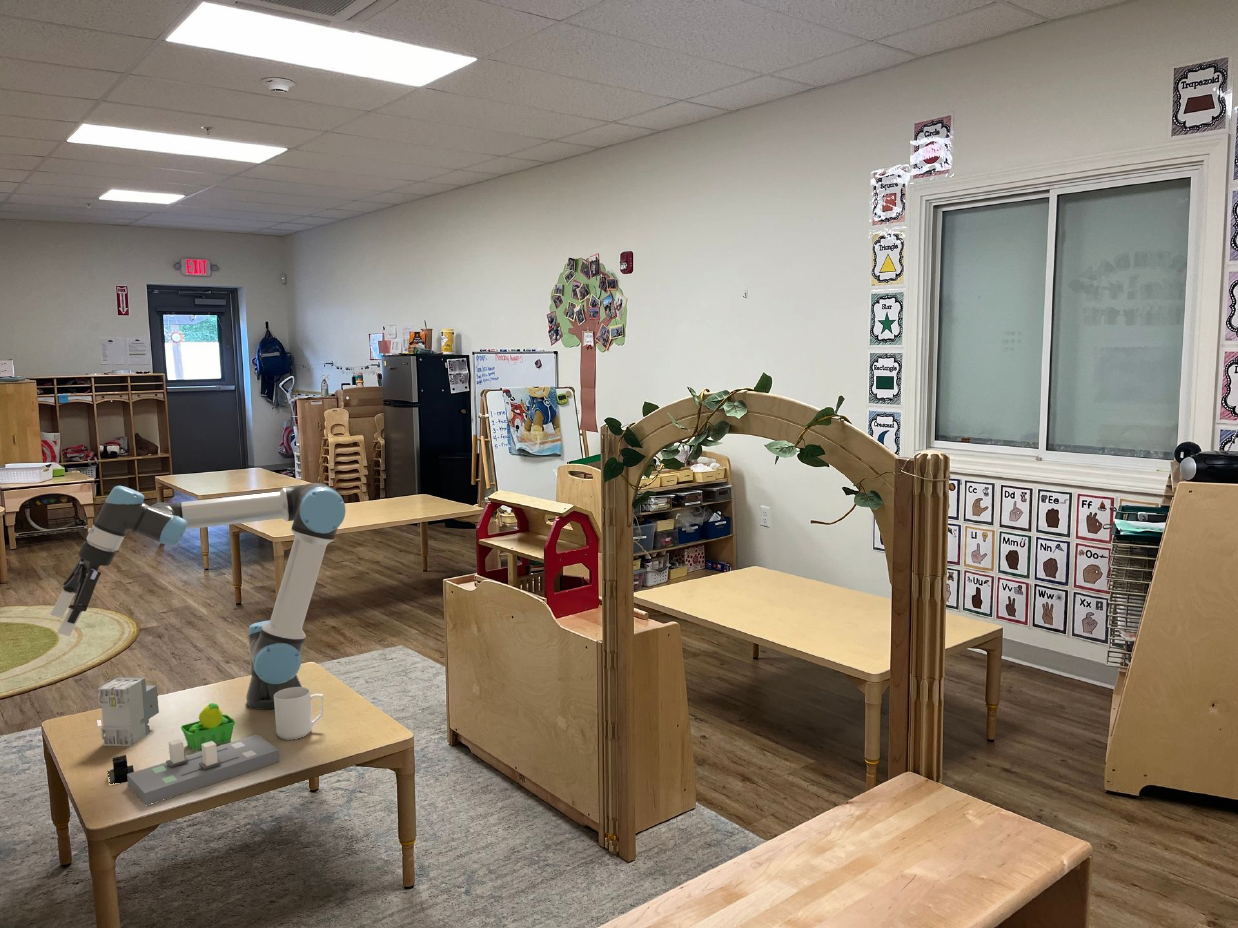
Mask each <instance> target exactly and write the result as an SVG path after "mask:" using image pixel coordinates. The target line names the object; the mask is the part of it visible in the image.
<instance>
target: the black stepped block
mask: <svg viewBox="0 0 1238 928" xmlns="http://www.w3.org/2000/svg"><path fill="white" fill-rule="evenodd" d="M112 766H113V767H112V768H113V769H109V770H110V771H108V770H106V771H107V772H108V773H107V772H106V773H107V774H109V775H107V778H108V777H110V778H109V779H110V782H109V783H110V784H113V783H114V784H115V783H120V784H123V783H124V784H125V783H128V779H127V774H129V773H132V772H135V769H134V765H128V759H127V755H126V754H125V755H120V756H114V757H112ZM120 784H119V785H120Z"/></svg>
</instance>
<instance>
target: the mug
mask: <svg viewBox="0 0 1238 928" xmlns="http://www.w3.org/2000/svg"><path fill="white" fill-rule="evenodd" d="M315 697H317V698H320V702H321V703H320V704H321V705H320V713H319V714H318V715H317V716H316V717H314V719H313V717H312V716H313V715H312V713H313V712H312V701H311V700H312V699H313V698H315ZM274 707H275V709H274V719H275V720H274V721H275V733H276V735H277V737H279V738H280V739H281V740H285V741H294V740H293V739H295V740H299V739H298V738H300V739H302V738H301V737H303V738H305V737H306V735H307V734H308V733H309V734H310V733H311V731H312V729H313V726H314V725H315V723H317V722H318V720H320V719H321V718H322V717H323V716H324V694H323V693H313V694H311V690H310V688H308V687H304V686H302V687H291V688H286V689H283V690H280V691H278V692H276V693H275V694H274ZM309 734H308V735H309ZM308 735H307V736H308ZM304 736H305V737H304Z"/></svg>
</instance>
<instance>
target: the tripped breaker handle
mask: <svg viewBox="0 0 1238 928" xmlns="http://www.w3.org/2000/svg"><path fill="white" fill-rule="evenodd" d="M201 745H202V749H201V751H202V758H203V762H201V763H199V766H200V767H202V768H203V769H208V768H211V767H214V766H217V765H220V764H222V762H221V761H220V760H219V759H218V758H217V748H216V747H217V745H216V744H215V743H214V742H213V741H210V742H207V743H203V744H201Z"/></svg>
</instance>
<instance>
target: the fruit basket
mask: <svg viewBox="0 0 1238 928" xmlns="http://www.w3.org/2000/svg"><path fill="white" fill-rule="evenodd" d="M198 719H199V720H198V721H194V722H191V723H187V724H182V725H181V726H180V729H181V731H182V732H183V736H184V739H185V741H186V743H187V746H189V747H190V748H191V750H193V751H199V750H202V745H201V744H203V743H207V742H210V741H213V742H214V743H215V744H216V746H217V745H219V744H222V743H228V742H231V740H232V736H233V730H234V727H235V724H236V720H234V719H233V718H232V717H231V716H230V715H228V714H223V712H222V710H221V709H220V707H219V705H218V704H217V703H215V702H211V703H209V704H208V705H206V706H205V707H204V708H203V709H202V710H201V711H200V712H199V716H198Z"/></svg>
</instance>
